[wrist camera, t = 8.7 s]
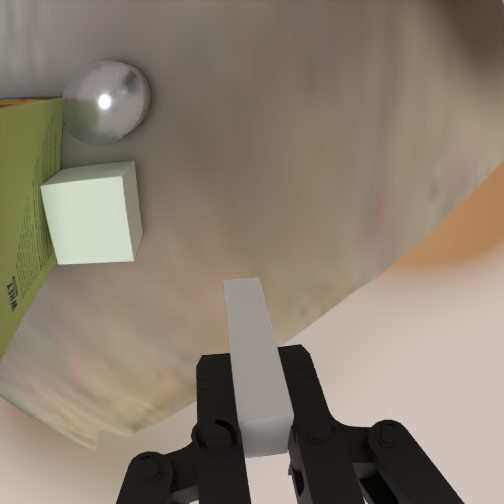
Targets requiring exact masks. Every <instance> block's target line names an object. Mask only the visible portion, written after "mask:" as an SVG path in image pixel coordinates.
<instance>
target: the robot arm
mask: <svg viewBox="0 0 504 504" xmlns="http://www.w3.org/2000/svg"><path fill="white" fill-rule="evenodd" d="M223 285H224V296H225V307H226V318H227V329H228V339H229V348H230V353H225V354H212V355H202V356H201V358H200V360H199V362H198V364H197V366H196V379H197V424H196V425H195V426H194V428H193V429H192V434H191V438H192V442H191V443H190V444H189V445H188V446H186V447H184V448H182V449H181V450H177V451H174V452H171V453H168V454H165V455H162V454H160V453H158V452H149V451H148V452H144V453H140V454H139V455H137V456H136V457H134V458H133V459H132V461H131V463H130V464H129V467H128V469H127V472H126V475H125V478H124V481H123V484H122V487H121V490H120V493H119V496H118V499H117V502H116V504H189V503H190V502H193V501H196V500H199V504H251V498H250V492H249V485H248V478H247V472H246V465H245V458H251V457H260V456H268V455H276V454H282V453H287V451H288V450H289V455H290V459H291V461H290V465H289V469H288V475H292V480H293V484H294V489H295V493H296V498H297V503H298V504H365V501H364V499H365V500H366V502H367V503H368V504H464V502H463V501H462V500H461V499H460V497H459V496H458V495H457V493H456V492H455V491H454V490H453V488H452V487H451V485H450V484H449V483H448V482H447V480H446V479H445V478H444V476H443V475H442V474H441V473H440V471H439V470H438V469H437V467H436V466H435V465H434V464H433V463H432V461H431V460H430V459H429V457H428V456H427V455H426V453H425V452H424V451H423V450H422V448H421V447H420V446H419V444H418V443H417V442H416V441H415V439H414V438H413V437H412V435H411V434H410V433H409V432H408V430H407V429H406V428H405V427H404V426H403V425H402V424H401V423H399V422H397V421H394V420H383V421H379V422H377V423H376V424H375V425H373V426H372V427H353V426H347V425H344V424H341V423H340V422H338V421H337V420H335V419H334V418H333V416H332V415H331V413H330V411H329V409H328V406H327V403H326V400H325V397H324V394H323V391H322V388H321V385H320V382H319V380H318V377H317V374H316V370H315V368H314V364H313V362H312V359H311V356H310V353H308V351H307V350H306V349H305V348H304V347H303V346H302V345H301V344H300V345H292V346H284V347H277V345H276V341H275V337H274V333H273V329H272V325H271V321H270V317H269V313H268V309H267V305H266V301H265V297H264V293H263V289H262V285H261V281H260V277H251V278H240V279H228V280H223ZM363 497H364V498H363Z"/></svg>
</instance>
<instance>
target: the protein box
mask: <svg viewBox="0 0 504 504" xmlns="http://www.w3.org/2000/svg"><path fill="white" fill-rule="evenodd" d="M61 101H62V97H28V98H8V99H0V362H1V360H2V358H3V356H4V354H5V352H6V350H7V348H8V345H9V343H10V341H11V339H12V338H13V336H14V334H15V332H16V330H17V328H18V326H19V324H20V322H21V321H22V319H23V317H24V315H25V313H26V312H27V310H28V308H29V306H30V304H31V303H32V301H33V299H34V298H35V296H36V294H37V293H38V291H39V289H40V288H41V286H42V284H43V283H44V281H45V280H46V278H47V276H48V275H49V273H50V271H51V270H52V268H53V267H54V265H55V264H56V262H57V257H56V254H55V250H54V246H53V242H52V239H51V235H50V230H49V226H48V222H47V218H46V213H45V208H44V204H43V199H42V193H41V188H40V186H41V185H42V184H43V183H45V182H46V181H47V180H49V179H50V178H51V177H53V176H54V175H55V174H57V173H58V172H59V171H61V142H62V126H63V117H62V112H61Z"/></svg>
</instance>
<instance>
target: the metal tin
mask: <svg viewBox="0 0 504 504" xmlns="http://www.w3.org/2000/svg"><path fill="white" fill-rule="evenodd" d="M150 102H151V90H150V86H149V83H148V81H147V79H146V77H145V76H144V75H143V73H142V72H141V71H140V70H138V69H137V68H135V67H134V66H131V65H129V64H125V63H121V62H117V61H112V60H100V61H95V62H92V63H89V64H87V65H85V66H84V67H82V68H81V69H79V70H78V71H77V72H76V73H75V74H74V75H73V76H72V77H71V79H70V80H69V82H68V83H67V85H66V87H65V89H64V92H63V96H62V101H61V112H62V117H63V120H64V123H65V125H66V127H67V129H68V130H69V131H70V133H71V134H72V135H73V136H74V137H76V138H77V139H79V140H80V141H82V142H84V143H87V144H91V145H105V144H109V143H112V142H115V141H117V140H119V139H120V138H122V137H123V136H125V135H126V134H127V133H129V132H130V131H132V130H133V129H135V128H136V127H137V126H138V125H139V124H140V123H141V122H142V121H143V119H144V118H145V116H146V114H147V112H148V110H149V107H150Z"/></svg>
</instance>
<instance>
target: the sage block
mask: <svg viewBox="0 0 504 504" xmlns="http://www.w3.org/2000/svg"><path fill="white" fill-rule="evenodd" d="M40 188H41V193H42V199H43V204H44V208H45V213H46V218H47V222H48V226H49V230H50V235H51V239H52V242H53V246H54V250H55V254H56V257H57V261H58V264H81V263H102V262H123V261H134V259H135V256H136V253H137V250H138V247H139V244H140V241H141V238H142V235H143V232H142V224H141V216H140V208H139V199H138V190H137V180H136V169H135V161H126V162H116V163H106V164H97V165H89V166H81V167H73V168H66V169H62V170H61V171H59V172H58V173H57V174H55V175H54V176H53V177H51V178H50V179H49V180H47V181H46V182H45V183H43V184H42V185H41V186H40Z"/></svg>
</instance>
